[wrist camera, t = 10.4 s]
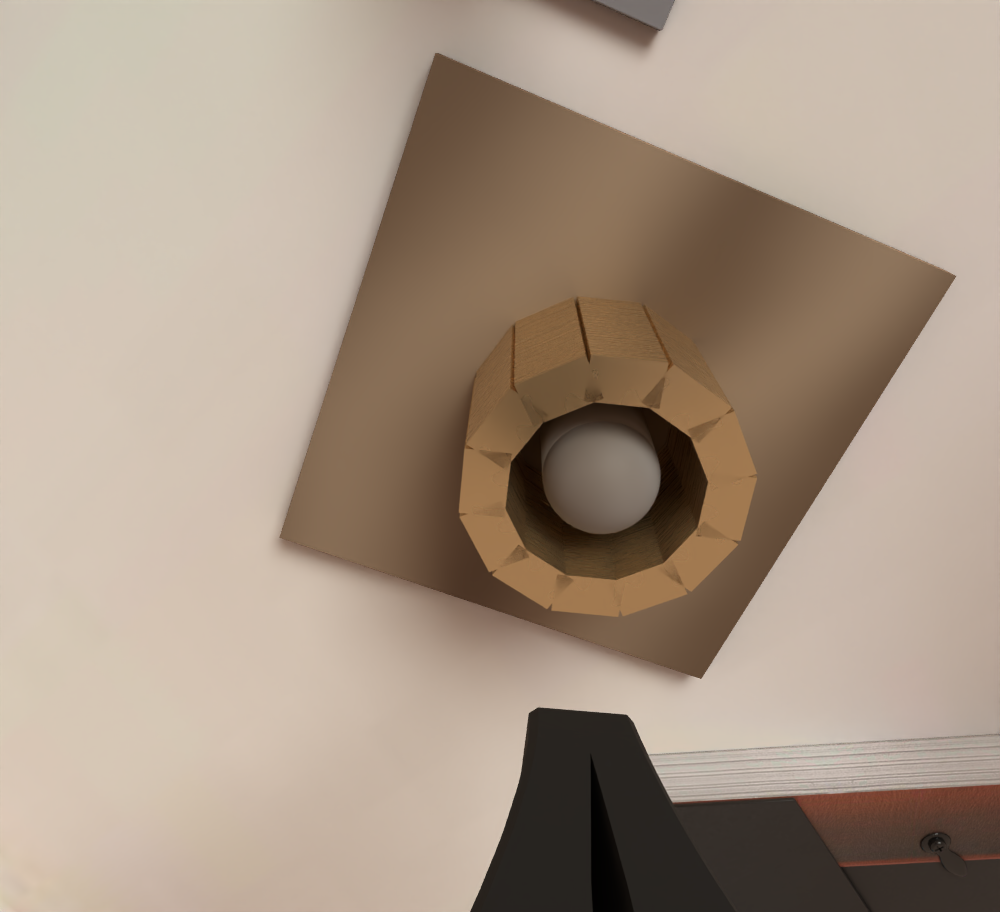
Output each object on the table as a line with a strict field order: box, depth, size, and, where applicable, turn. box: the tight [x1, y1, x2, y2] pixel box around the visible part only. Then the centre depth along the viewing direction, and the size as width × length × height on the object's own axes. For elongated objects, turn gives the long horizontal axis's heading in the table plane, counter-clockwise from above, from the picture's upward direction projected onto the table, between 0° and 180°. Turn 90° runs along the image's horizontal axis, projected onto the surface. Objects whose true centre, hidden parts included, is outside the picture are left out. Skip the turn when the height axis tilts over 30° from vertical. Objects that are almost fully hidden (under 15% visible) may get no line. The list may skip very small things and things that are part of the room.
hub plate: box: [280, 53, 956, 679], centre depth 18 cm, size 12×12×5 cm
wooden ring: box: [459, 296, 757, 617], centre depth 18 cm, size 6×6×4 cm
